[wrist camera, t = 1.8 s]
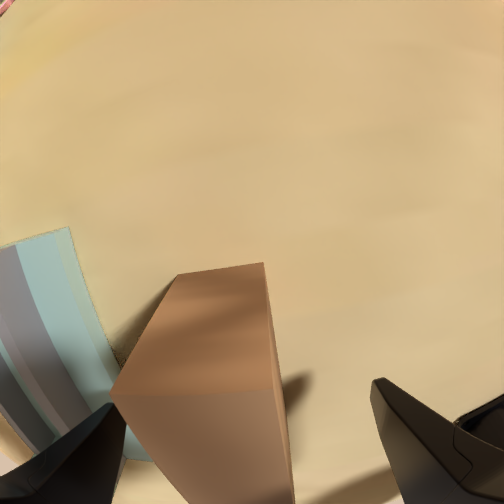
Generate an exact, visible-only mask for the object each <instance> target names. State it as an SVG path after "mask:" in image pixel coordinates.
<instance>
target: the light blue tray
mask: <svg viewBox="0 0 504 504" xmlns="http://www.w3.org/2000/svg"><path fill="white" fill-rule="evenodd" d="M120 372H121V369H120V367H119V365H118V363H117V361H116V358H115V356H114V354H113V352H112V350H111V347H110V345H109V343H108V341H107V338H106V336H105V334H104V331H103V329H102V327H101V324H100V322H99V319H98V317H97V314H96V311H95V309H94V306H93V304H92V301H91V298H90V295H89V293H88V290H87V287H86V284H85V281H84V278H83V275H82V272H81V269H80V266H79V262H78V259H77V256H76V252H75V249H74V245H73V242H72V238H71V234H70V231H69V227H65V228H62V229H58V230H54V231H51V232H47V233H44V234H40V235H37V236H33V237H30V238H27V239H23V240H20V241H17V242H14V243H10V244H7V245H4V246H1V247H0V412H1V413H2V415H3V416H4V418H5V419H6V420H7V421H8V423H9V424H10V425H11V427H12V428H13V429H14V430H15V432H16V433H17V434H18V435H19V436H20V438H21V439H22V440H23V441H24V442H25V443H26V445H27V446H28V447H29V448H30V449H31V450H32V451H33V452H34V455H33V456H32V458H33V457H35V456H36V455H38V454H39V453H41V452H42V451H43V450H45V449H46V448H47V447H49V446H50V445H51V444H53V443H54V442H55V441H57V440H58V439H60V438H61V437H62V436H64V435H65V434H66V433H68V432H69V431H70V430H72V429H73V428H74V427H75V426H77V425H78V424H79V423H81V422H82V421H83V420H85V419H86V418H87V417H89V416H90V415H91V414H93V413H94V412H95V411H96V410H98V409H99V408H100V407H102V406H103V405H104V404H105V403H107V402H113V401H112V399H111V397H110V395H109V392H110V390H111V388H112V386H113V384H114V383H115V381H116V379H117V377H118V375H119V374H120ZM113 403H114V402H113ZM32 458H31V459H32ZM126 459H134V460H141V461H150V462H154V461H153V460H152V459H151V457H150V456H149V455H148V453H147V452H146V451H145V449H144V448H143V447H142V445H141V444H140V442H139V441H138V439H137V438H136V437H135V435H134V434H133V432H132V431H131V429H130V428H129V426H128V425H127V426H126V433H125V440H124V448H123V454H122V459H121V463H120V467H119V472H118V476H117V480H116V485H115V489H114V493H115V490H116V487H117V484H118V481H119V479H120V476H121V473H122V470H123V467H124V464H125V461H126ZM113 496H114V494H113Z"/></svg>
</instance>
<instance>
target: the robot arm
mask: <svg viewBox="0 0 504 504" xmlns="http://www.w3.org/2000/svg"><path fill="white" fill-rule="evenodd" d="M370 401H371V405H372V409H373V413H374V416H375V420H376V424H377V428H378V432H379V436H380V439H381V442H382V445H383V447H384V450H385V452H386V455H387V457H388V460H389V463H390V465H391V468H392V470H393V473H394V476H395V479H396V481H397V484H398V487H399V489H400V492H401V495H402V498H403V500H404V503H405V504H504V395H503V396H502V397H500V398H498V399H497V400H495V401H493V402H491V403H489V404H488V405H486V406H484V407H482V408H480V409H478V410H476V411H474V412H472V413H470V414H468V415H466V416H464V417H463V418H462V419H461V420H460V421H459V423H458V425H457V426H455V425H454V424H453V423H452V422H450V421H448V420H447V419H445V418H444V417H442V416H441V415H439V414H438V413H436V412H435V411H433V410H432V409H430V408H429V407H427V406H426V405H424V404H423V403H421V402H420V401H418V400H417V399H416V398H414V397H413V396H411V395H410V394H408V393H407V392H405V391H404V390H402V389H401V388H399V387H398V386H396V385H395V384H393V383H392V382H391V381H389V380H388V379H386V378H384V377H382V378H378V379H374V380H373V381H372V386H371V394H370ZM126 426H127V423H126V422H125V420H124V418H123V417H122V415H121V414H120V412H119V410H118V409H117V407H116V406H115V404H114V403H113V402H107V403H105V404H104V405H103V406H102V407H100V408H99V409H98V410H96V411H95V412H94V413H93V414H91V415H90V416H89V417H87V418H86V419H85V420H83V421H82V422H81V423H79V424H78V425H77V426H75V427H74V428H73V429H72V430H70V431H69V432H68V433H66V434H65V435H64V436H62V437H61V438H60V439H58V440H57V441H55V442H54V443H53V444H51V445H50V446H49V447H47V448H46V449H45V450H43V451H42V452H41V453H39V454H38V455H36V456H35V457H33V458H32V459H30V460H29V461H27V462H26V463H24V464H22V465H21V466H19V467H17V468H15V469H14V470H12V471H10V472H8V473H7V474H5V475H3V476H0V504H111V503H112V498H113V494H114V489H115V485H116V480H117V476H118V472H119V467H120V463H121V459H122V454H123V448H124V440H125V433H126Z"/></svg>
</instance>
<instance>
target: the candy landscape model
mask: <svg viewBox="0 0 504 504" xmlns="http://www.w3.org/2000/svg"><path fill="white" fill-rule="evenodd" d="M13 1H14V0H0V14H2V13H3V12H4V11H5V10H7V9H8V8H9V7H10V5H11V4H12V3H13Z"/></svg>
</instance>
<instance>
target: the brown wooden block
mask: <svg viewBox="0 0 504 504" xmlns="http://www.w3.org/2000/svg"><path fill="white" fill-rule="evenodd" d="M109 395H110V397H111V399H112V401H113V402H114V404H115V406H116V407H117V409H118V410H119V412H120V414H121V415H122V417H123V418H124V420H125V422H126V423H127V425H128V426H129V428H130V429H131V431H132V432H133V434H134V435H135V437H136V438H137V439H138V441H139V442H140V444H141V445H142V447H143V448H144V449H145V451H146V452H147V453H148V455H149V456H150V457H151V459H152V460H153V461H154V463H155V464H156V465H157V467H158V468H159V469H160V470H161V472H162V473H163V474H164V475H165V477H166V478H167V479H168V480H169V481H170V483H171V484H172V485H173V486H174V487H175V489H176V490H177V491H178V492H179V493H180V494H181V495H182V496H183V498H184V499H185V500H186V501H187V502H188V503H189V504H295V495H294V485H293V474H292V464H291V454H290V444H289V435H288V425H287V416H286V409H285V402H284V395H283V389H282V382H281V375H280V368H279V361H278V354H277V348H276V341H275V334H274V328H273V321H272V315H271V308H270V301H269V295H268V288H267V282H266V276H265V269H264V263H263V262H262V263H255V264H248V265H241V266H234V267H228V268H221V269H214V270H207V271H200V272H193V273H186V274H178V275H177V277H176V278H175V280H174V282H173V283H172V285H171V287H170V288H169V290H168V291H167V293H166V295H165V296H164V298H163V300H162V301H161V303H160V305H159V306H158V308H157V310H156V311H155V313H154V315H153V316H152V318H151V320H150V321H149V323H148V325H147V326H146V328H145V330H144V331H143V333H142V335H141V337H140V338H139V340H138V342H137V343H136V345H135V347H134V349H133V350H132V352H131V354H130V356H129V357H128V359H127V361H126V363H125V365H124V366H123V368H122V370H121V372H120V374H119V375H118V377H117V379H116V381H115V383H114V384H113V386H112V388H111V390H110V392H109Z"/></svg>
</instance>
